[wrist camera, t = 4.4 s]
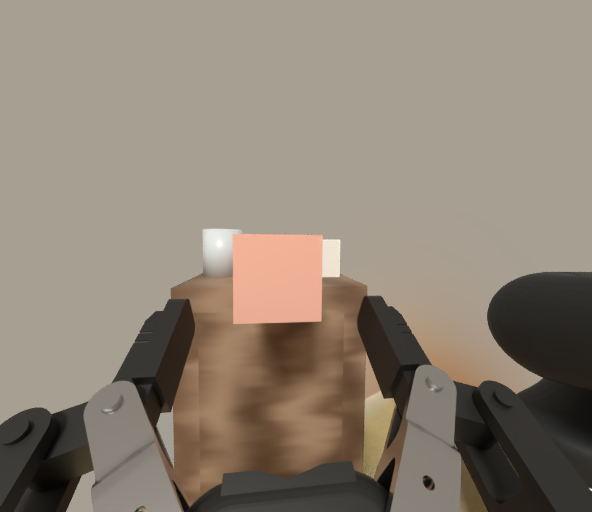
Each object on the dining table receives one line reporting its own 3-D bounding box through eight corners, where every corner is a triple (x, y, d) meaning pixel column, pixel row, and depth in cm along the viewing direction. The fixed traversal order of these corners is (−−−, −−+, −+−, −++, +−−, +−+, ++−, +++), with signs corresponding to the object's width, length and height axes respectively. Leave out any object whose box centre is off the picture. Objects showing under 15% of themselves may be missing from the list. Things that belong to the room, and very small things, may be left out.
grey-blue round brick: (244, 272, 30) (244, 231, 29) (240, 277, 26) (240, 229, 25) (208, 272, 29) (207, 230, 29) (198, 277, 25) (197, 228, 25)
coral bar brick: (285, 268, 34) (285, 240, 34) (321, 321, 11) (322, 235, 11) (256, 269, 34) (256, 239, 34) (233, 324, 11) (232, 233, 11)
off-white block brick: (328, 271, 31) (328, 240, 31) (339, 277, 26) (340, 239, 26) (300, 271, 31) (300, 239, 31) (306, 277, 26) (306, 239, 26)
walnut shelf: (324, 482, 37) (327, 268, 35) (359, 628, 23) (367, 285, 21) (214, 493, 35) (211, 269, 33) (178, 660, 21) (170, 288, 19)
